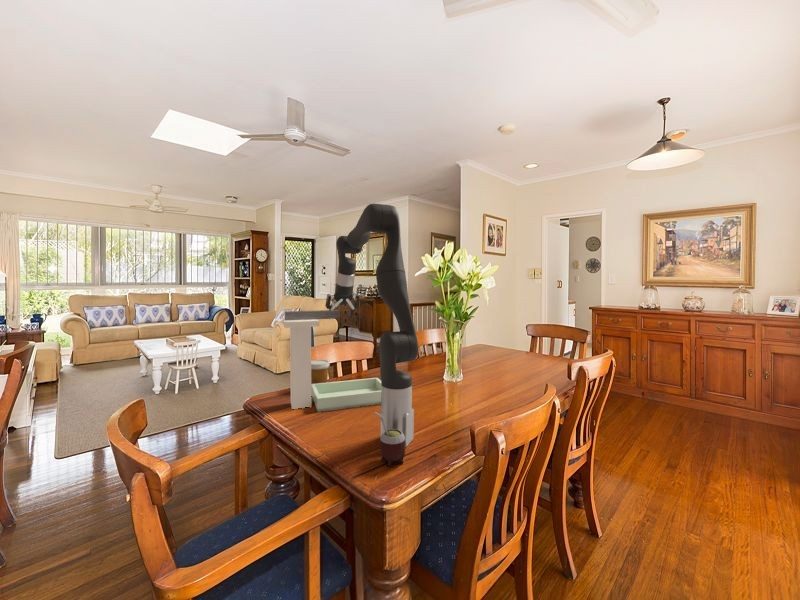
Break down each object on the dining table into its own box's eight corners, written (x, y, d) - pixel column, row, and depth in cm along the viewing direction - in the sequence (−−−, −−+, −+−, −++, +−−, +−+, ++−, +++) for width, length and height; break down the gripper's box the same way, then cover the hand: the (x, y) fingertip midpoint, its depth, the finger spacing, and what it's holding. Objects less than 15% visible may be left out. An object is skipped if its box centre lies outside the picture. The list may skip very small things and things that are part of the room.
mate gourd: (408, 457, 97) (409, 404, 96) (399, 472, 89) (400, 415, 88) (383, 453, 99) (383, 401, 98) (372, 467, 91) (372, 411, 90)
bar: (338, 317, 138) (338, 310, 138) (339, 318, 135) (339, 310, 135) (284, 319, 131) (284, 311, 131) (285, 320, 128) (285, 312, 128)
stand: (314, 397, 142) (314, 316, 140) (319, 409, 130) (319, 320, 128) (283, 401, 138) (282, 317, 135) (285, 413, 126) (284, 322, 123)
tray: (377, 388, 154) (377, 377, 154) (391, 402, 138) (391, 390, 137) (311, 396, 144) (311, 384, 144) (317, 412, 127) (317, 398, 127)
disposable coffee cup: (334, 389, 153) (334, 362, 152) (315, 394, 146) (315, 365, 145) (321, 384, 160) (321, 358, 159) (303, 388, 153) (302, 361, 152)
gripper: (330, 285, 142) (327, 321, 149) (363, 285, 149) (358, 319, 155) (326, 279, 149) (323, 313, 155) (358, 279, 155) (353, 312, 161)
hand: (340, 316), depth 155 cm, fingers open, 8 cm apart
